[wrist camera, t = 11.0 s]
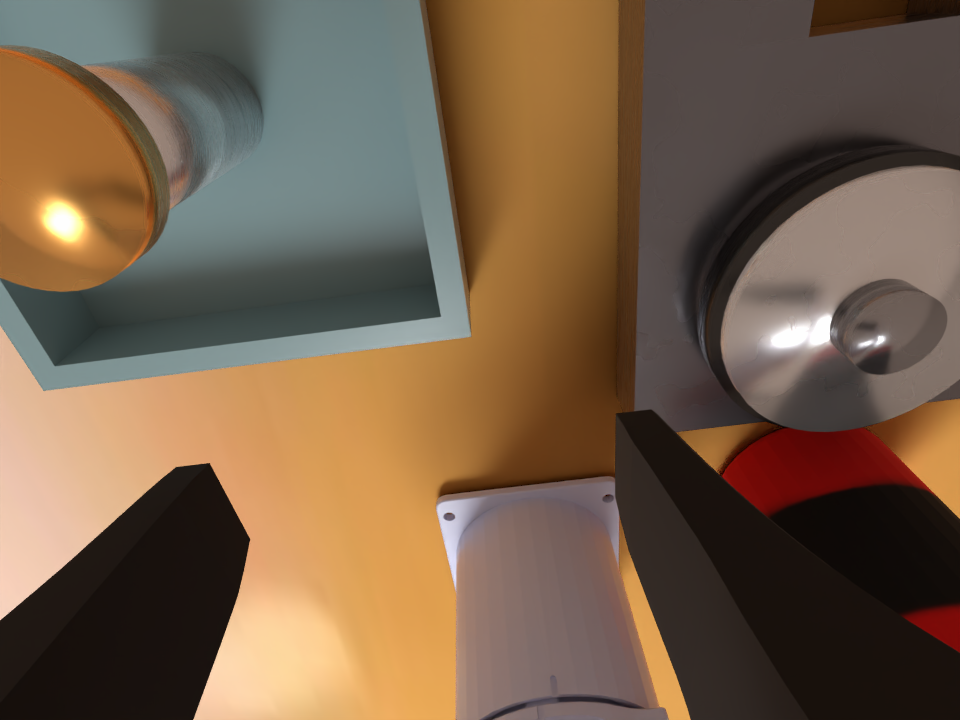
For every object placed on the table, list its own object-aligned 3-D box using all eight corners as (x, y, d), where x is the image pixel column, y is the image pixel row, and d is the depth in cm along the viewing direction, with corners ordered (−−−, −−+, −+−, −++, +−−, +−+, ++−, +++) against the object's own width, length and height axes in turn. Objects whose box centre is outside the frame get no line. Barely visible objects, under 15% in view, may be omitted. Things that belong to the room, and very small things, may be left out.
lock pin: (294, 171, 17) (179, 277, 10) (171, 187, 17) (-26, 303, 10) (252, 25, 15) (72, 29, 8) (113, 44, 15) (-183, 67, 8)
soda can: (914, 472, 25) (1233, 789, 15) (771, 560, 28) (954, 877, 17) (822, 384, 22) (1135, 699, 12) (675, 493, 25) (824, 820, 15)
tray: (469, 295, 19) (471, 336, 17) (96, 343, 20) (43, 390, 17) (387, -256, 12) (368, -327, 10) (-189, -159, 13) (-348, -202, 10)
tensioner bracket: (925, 359, 22) (1054, 453, 17) (616, 396, 22) (659, 498, 17) (1168, -334, 12) (1614, -555, 7) (620, -243, 13) (715, -399, 8)
